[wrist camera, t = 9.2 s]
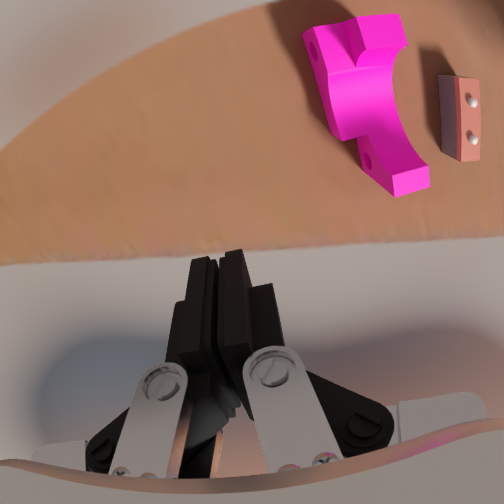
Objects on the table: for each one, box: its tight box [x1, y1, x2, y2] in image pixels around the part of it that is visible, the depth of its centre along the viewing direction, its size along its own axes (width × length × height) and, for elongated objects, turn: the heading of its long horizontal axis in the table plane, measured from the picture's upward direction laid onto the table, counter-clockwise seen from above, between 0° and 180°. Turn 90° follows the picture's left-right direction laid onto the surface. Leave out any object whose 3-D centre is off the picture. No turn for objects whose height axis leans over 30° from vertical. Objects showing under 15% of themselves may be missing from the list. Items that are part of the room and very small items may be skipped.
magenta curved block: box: [301, 14, 430, 197], centre depth 23 cm, size 15×6×8 cm, turn 18°
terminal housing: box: [437, 75, 480, 162], centre depth 25 cm, size 3×9×4 cm, turn 12°
